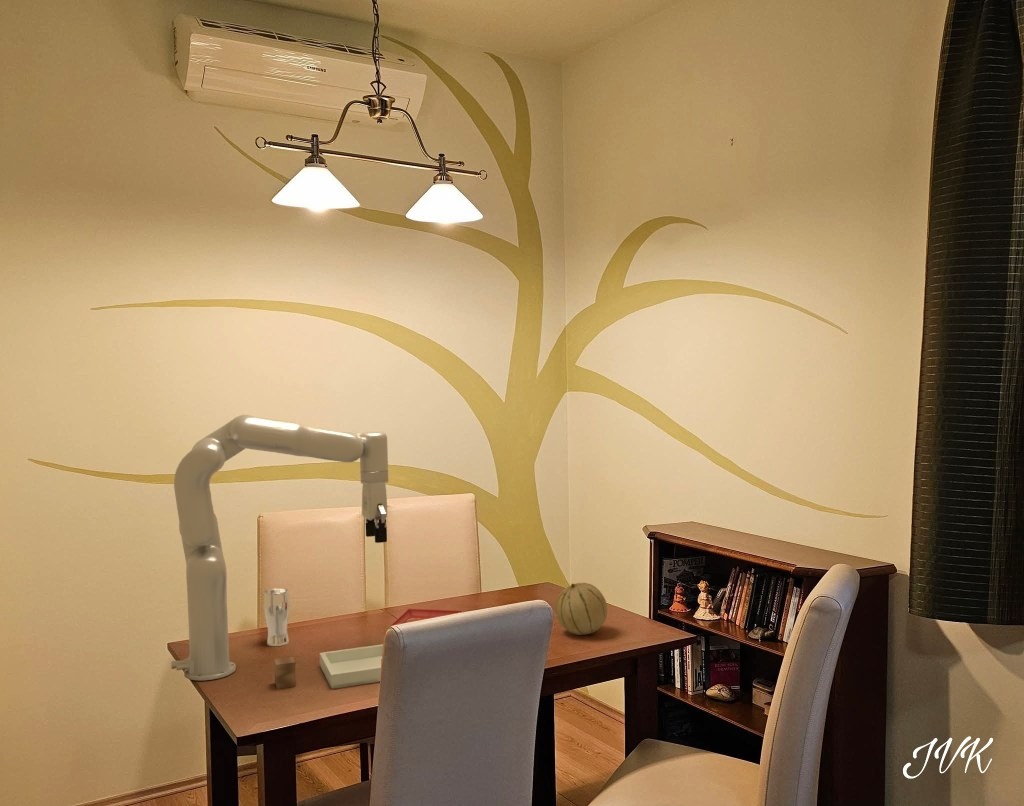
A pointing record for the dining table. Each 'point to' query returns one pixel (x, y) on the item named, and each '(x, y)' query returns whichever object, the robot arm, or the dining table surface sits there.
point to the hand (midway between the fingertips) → (376, 539)
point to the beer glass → (276, 615)
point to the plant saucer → (421, 614)
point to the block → (285, 672)
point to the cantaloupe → (581, 608)
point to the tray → (352, 666)
